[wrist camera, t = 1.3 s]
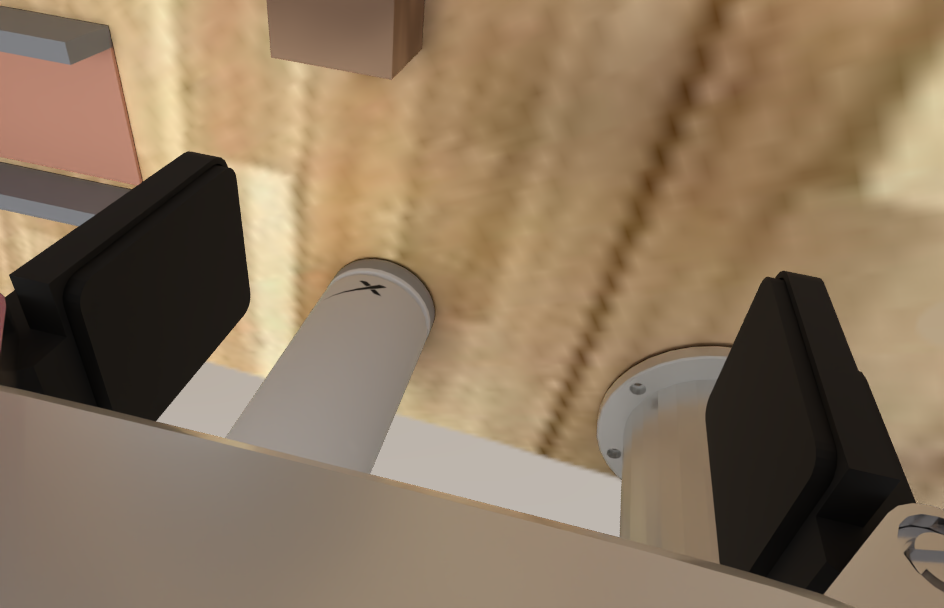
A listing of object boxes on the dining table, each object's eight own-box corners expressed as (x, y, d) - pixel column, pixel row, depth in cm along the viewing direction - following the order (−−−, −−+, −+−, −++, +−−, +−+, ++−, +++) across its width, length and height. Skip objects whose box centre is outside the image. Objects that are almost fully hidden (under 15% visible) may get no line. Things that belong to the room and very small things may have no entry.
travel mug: (369, 231, 35) (148, 561, 20) (457, 309, 37) (320, 668, 21) (307, 291, 39) (77, 614, 23) (391, 360, 41) (231, 701, 25)
